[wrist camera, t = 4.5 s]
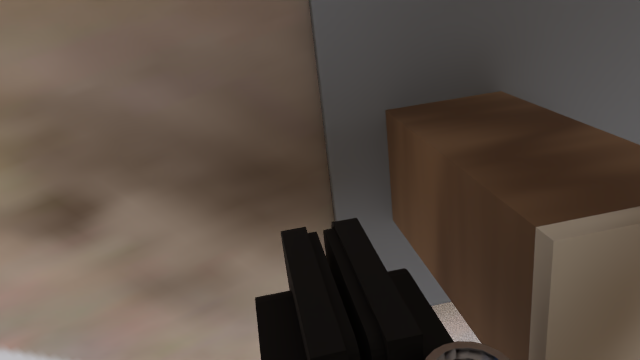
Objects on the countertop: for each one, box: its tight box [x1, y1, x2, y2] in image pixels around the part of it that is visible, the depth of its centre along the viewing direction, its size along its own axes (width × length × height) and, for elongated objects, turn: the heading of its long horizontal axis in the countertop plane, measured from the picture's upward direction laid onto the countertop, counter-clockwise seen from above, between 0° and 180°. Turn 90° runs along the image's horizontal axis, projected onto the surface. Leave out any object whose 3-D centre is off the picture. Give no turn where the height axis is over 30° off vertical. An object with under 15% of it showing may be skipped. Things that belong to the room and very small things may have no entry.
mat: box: [309, 0, 640, 306], centre depth 18 cm, size 14×12×1 cm
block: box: [385, 91, 640, 360], centre depth 13 cm, size 4×4×9 cm
